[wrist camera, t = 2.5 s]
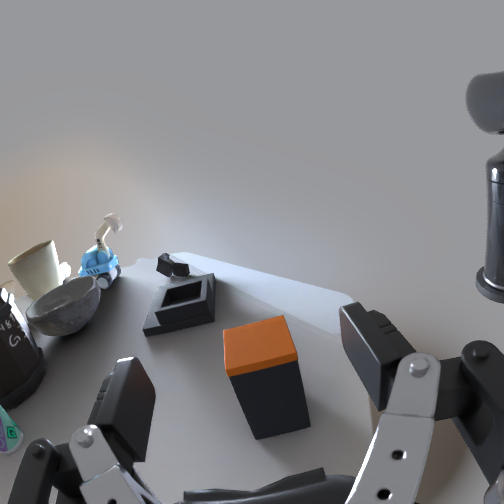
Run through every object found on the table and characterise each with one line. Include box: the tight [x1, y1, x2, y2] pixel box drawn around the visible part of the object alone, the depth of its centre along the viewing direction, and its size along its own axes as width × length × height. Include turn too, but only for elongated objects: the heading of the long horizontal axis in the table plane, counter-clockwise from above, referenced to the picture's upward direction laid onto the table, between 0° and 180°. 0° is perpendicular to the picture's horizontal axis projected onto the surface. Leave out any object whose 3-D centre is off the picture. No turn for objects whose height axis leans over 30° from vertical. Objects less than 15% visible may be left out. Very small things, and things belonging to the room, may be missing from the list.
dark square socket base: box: [142, 273, 215, 337], centre depth 54 cm, size 12×16×4 cm
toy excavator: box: [79, 214, 123, 290], centre depth 72 cm, size 9×17×17 cm, turn 90°
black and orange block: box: [223, 315, 311, 440], centre depth 26 cm, size 6×6×10 cm
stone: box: [59, 263, 70, 281], centre depth 90 cm, size 21×12×5 cm, turn 67°
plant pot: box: [8, 240, 62, 302], centre depth 68 cm, size 15×15×16 cm
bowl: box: [26, 276, 101, 336], centre depth 55 cm, size 18×18×8 cm
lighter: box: [156, 253, 190, 277], centre depth 69 cm, size 8×2×5 cm
